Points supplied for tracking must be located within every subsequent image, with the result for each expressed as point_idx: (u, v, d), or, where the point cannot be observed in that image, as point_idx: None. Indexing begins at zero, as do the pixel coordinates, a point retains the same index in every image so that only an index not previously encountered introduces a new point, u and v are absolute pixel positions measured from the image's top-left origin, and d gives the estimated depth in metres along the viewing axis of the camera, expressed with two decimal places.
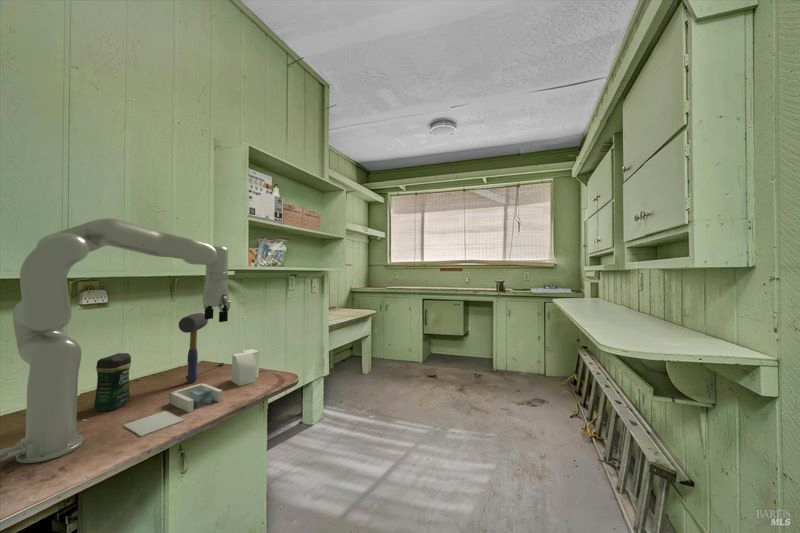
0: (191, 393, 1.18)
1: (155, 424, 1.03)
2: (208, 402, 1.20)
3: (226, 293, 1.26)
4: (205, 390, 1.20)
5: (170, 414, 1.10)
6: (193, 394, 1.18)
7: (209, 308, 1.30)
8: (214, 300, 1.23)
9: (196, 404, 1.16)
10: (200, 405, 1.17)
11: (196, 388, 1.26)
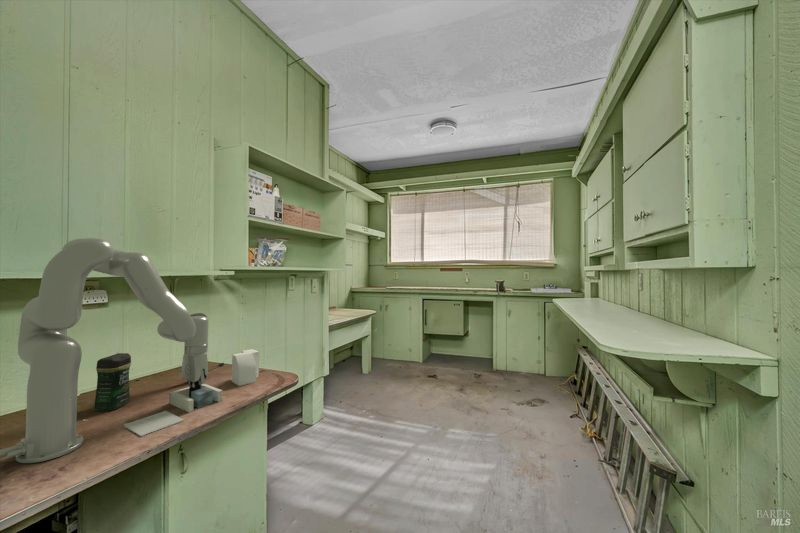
0: (192, 393, 1.18)
1: (155, 424, 1.03)
2: (209, 402, 1.19)
3: (205, 366, 1.20)
4: (206, 390, 1.20)
5: (170, 414, 1.10)
6: (194, 394, 1.18)
7: None
8: (192, 375, 1.18)
9: (197, 404, 1.16)
10: (201, 405, 1.17)
11: None
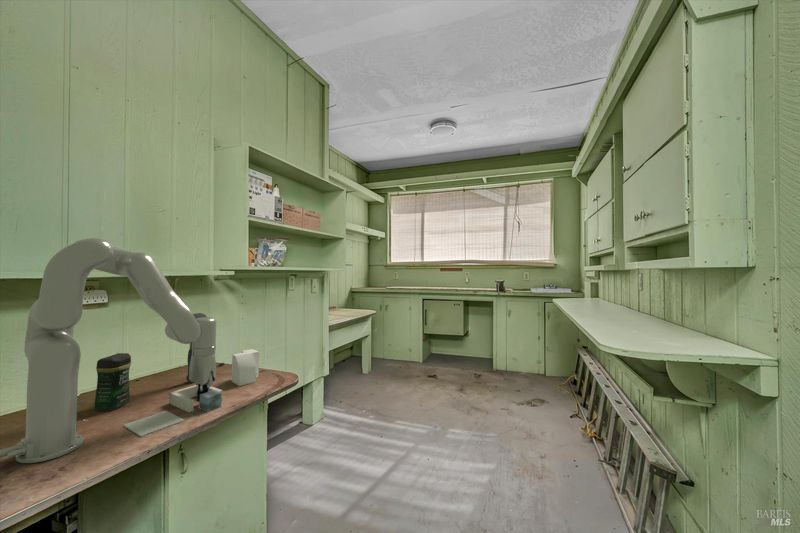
0: (200, 396, 1.16)
1: (155, 424, 1.03)
2: (218, 405, 1.17)
3: (214, 369, 1.18)
4: (215, 393, 1.18)
5: (170, 414, 1.10)
6: (203, 397, 1.15)
7: None
8: (201, 378, 1.15)
9: (206, 407, 1.14)
10: (210, 408, 1.15)
11: None
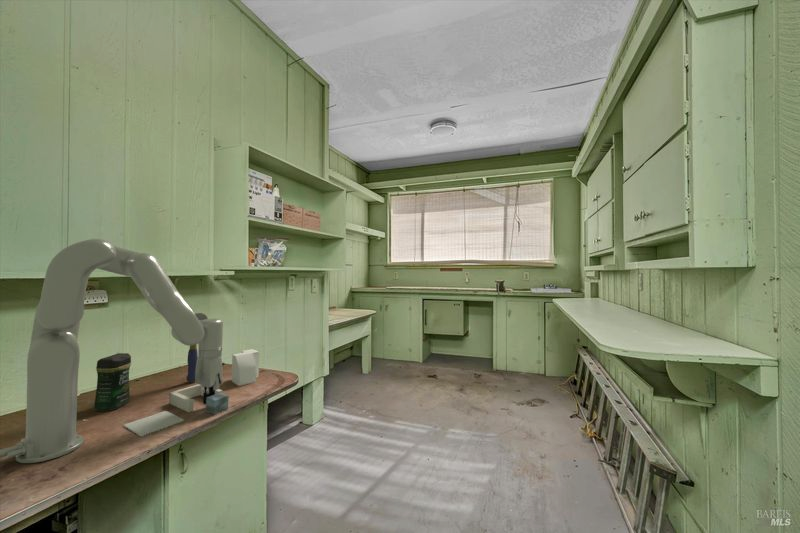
0: (207, 399, 1.14)
1: (155, 424, 1.03)
2: (225, 408, 1.15)
3: (220, 371, 1.16)
4: (222, 395, 1.16)
5: (170, 414, 1.10)
6: (209, 400, 1.13)
7: None
8: (207, 380, 1.13)
9: (213, 410, 1.12)
10: (217, 411, 1.13)
11: (196, 388, 1.26)
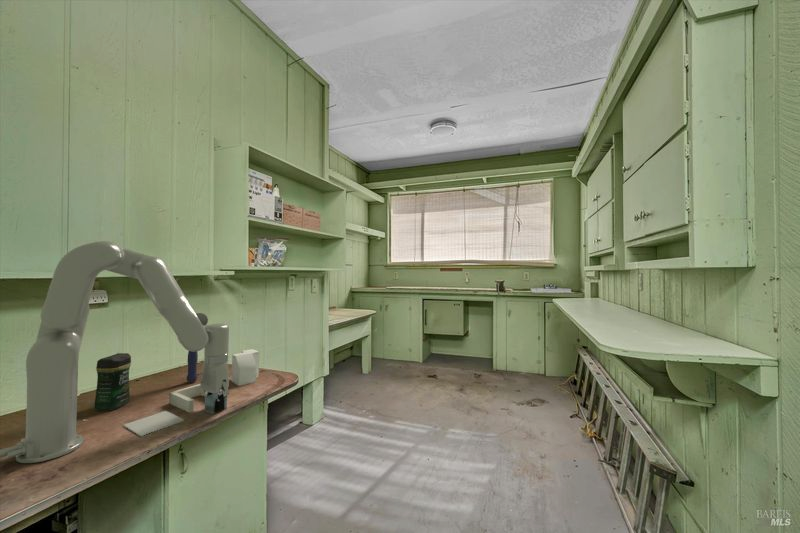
0: (206, 398, 1.14)
1: (155, 424, 1.03)
2: None
3: (226, 377, 1.14)
4: None
5: (170, 414, 1.10)
6: (208, 399, 1.14)
7: None
8: (213, 387, 1.11)
9: (212, 409, 1.13)
10: None
11: (196, 388, 1.26)
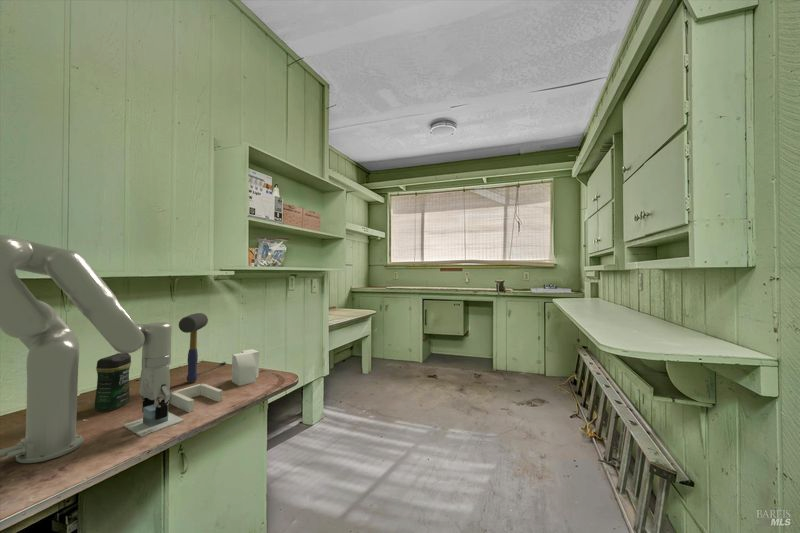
0: (144, 409, 1.03)
1: None
2: (164, 419, 1.05)
3: (167, 381, 1.03)
4: None
5: (170, 414, 1.10)
6: (146, 410, 1.03)
7: (149, 398, 1.07)
8: (150, 392, 1.00)
9: (149, 422, 1.02)
10: (154, 423, 1.02)
11: (196, 388, 1.26)
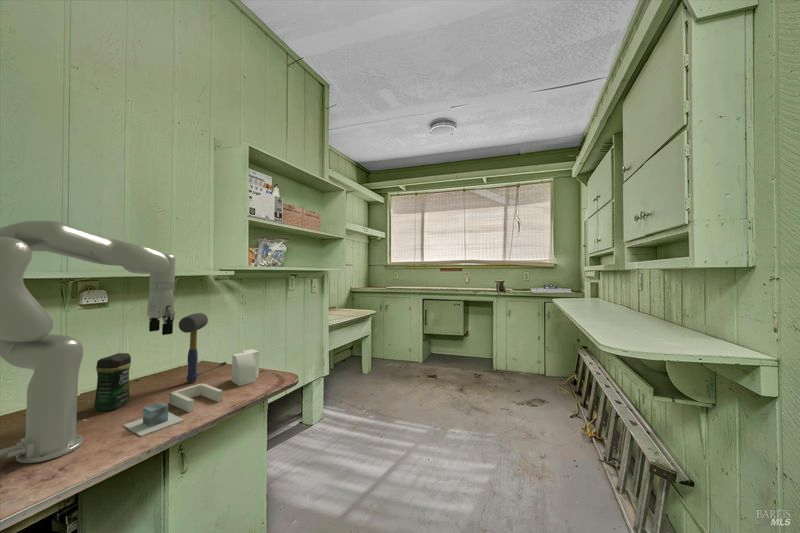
0: (144, 409, 1.03)
1: None
2: (164, 419, 1.05)
3: (171, 304, 1.18)
4: (161, 405, 1.05)
5: (170, 414, 1.10)
6: (146, 410, 1.03)
7: (155, 319, 1.22)
8: (157, 311, 1.15)
9: (149, 422, 1.02)
10: (154, 423, 1.02)
11: (196, 388, 1.26)
